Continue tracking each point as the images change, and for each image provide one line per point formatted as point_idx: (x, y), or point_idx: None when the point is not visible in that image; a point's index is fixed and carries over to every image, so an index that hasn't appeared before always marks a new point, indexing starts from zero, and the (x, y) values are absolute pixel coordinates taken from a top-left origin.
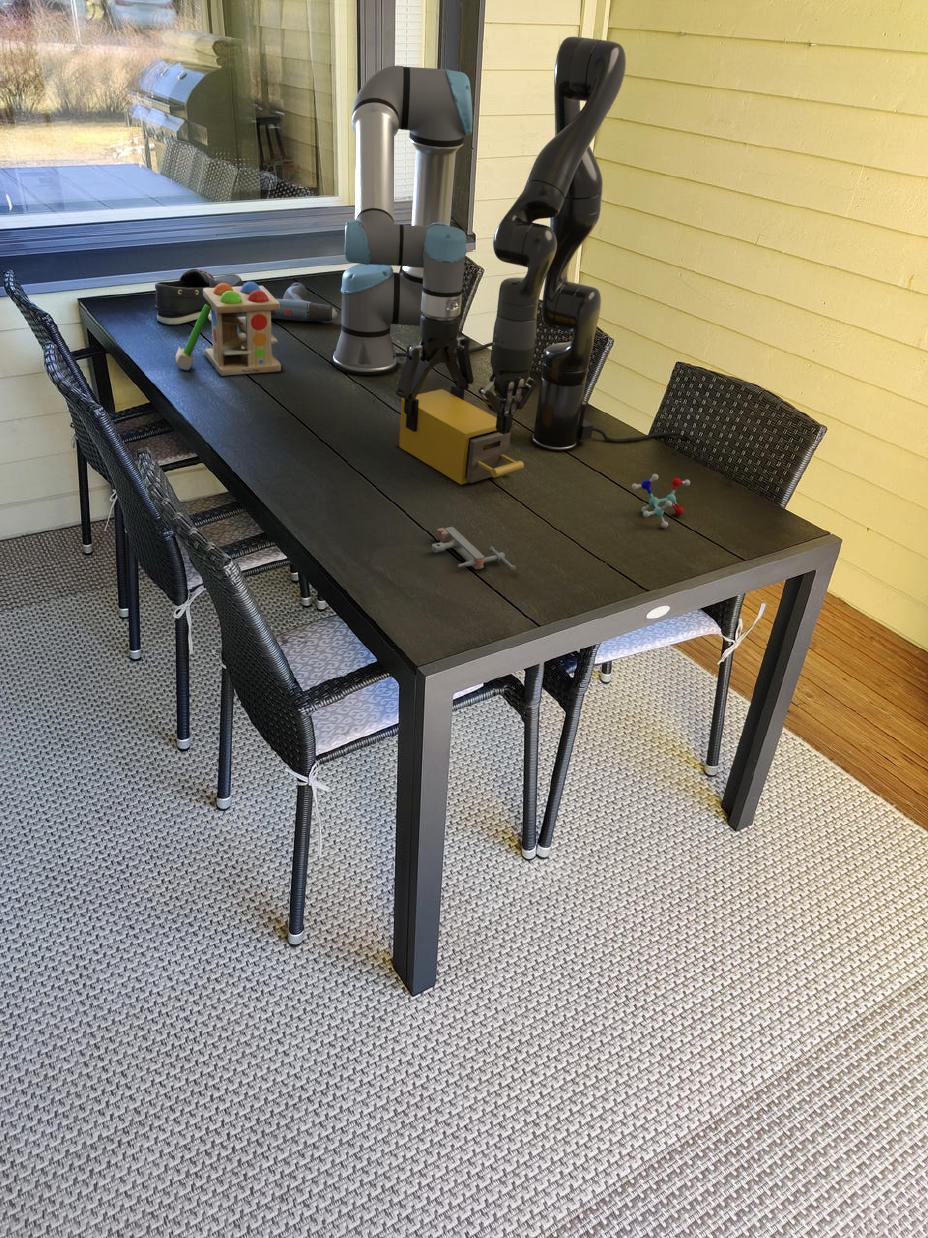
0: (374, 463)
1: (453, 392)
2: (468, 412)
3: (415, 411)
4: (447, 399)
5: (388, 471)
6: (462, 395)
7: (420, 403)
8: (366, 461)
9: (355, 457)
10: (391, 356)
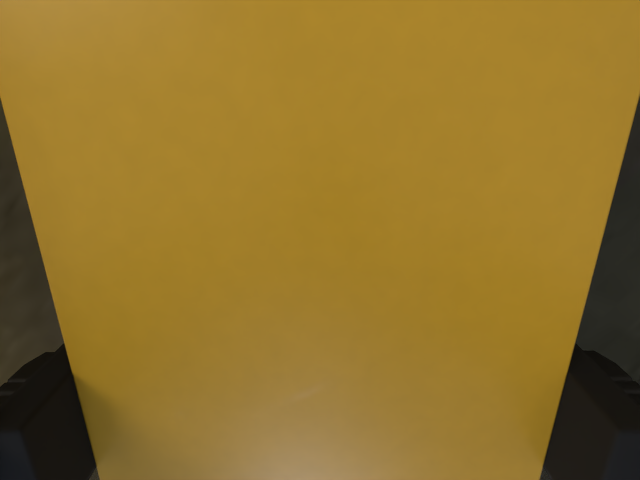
0: (617, 255)
1: (76, 455)
2: (189, 1)
3: (579, 351)
4: (201, 386)
5: (636, 164)
6: (10, 395)
7: (483, 422)
8: (626, 284)
9: (629, 330)
10: None
